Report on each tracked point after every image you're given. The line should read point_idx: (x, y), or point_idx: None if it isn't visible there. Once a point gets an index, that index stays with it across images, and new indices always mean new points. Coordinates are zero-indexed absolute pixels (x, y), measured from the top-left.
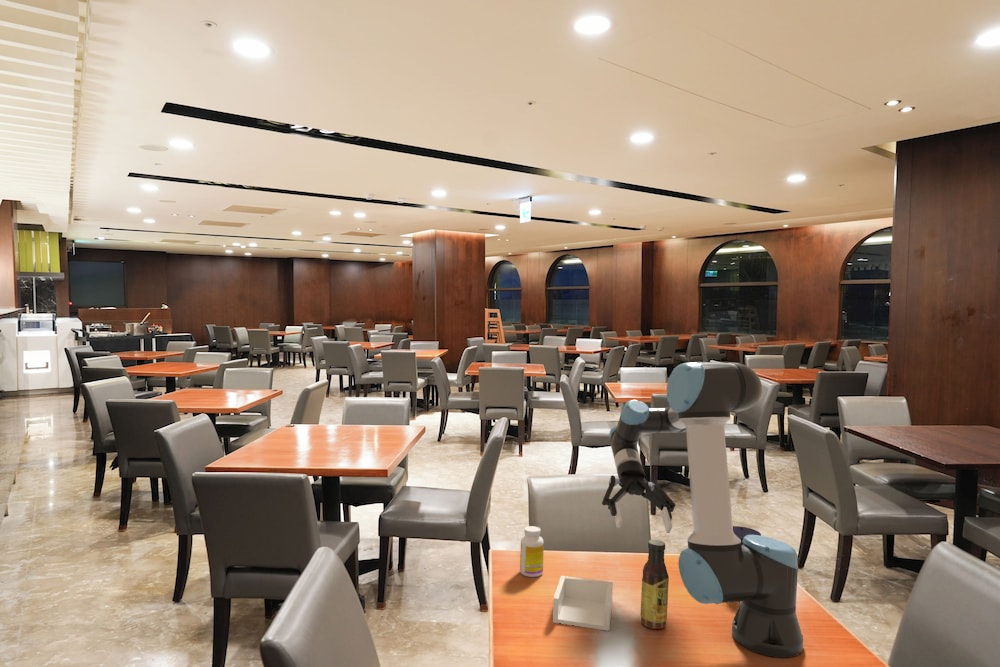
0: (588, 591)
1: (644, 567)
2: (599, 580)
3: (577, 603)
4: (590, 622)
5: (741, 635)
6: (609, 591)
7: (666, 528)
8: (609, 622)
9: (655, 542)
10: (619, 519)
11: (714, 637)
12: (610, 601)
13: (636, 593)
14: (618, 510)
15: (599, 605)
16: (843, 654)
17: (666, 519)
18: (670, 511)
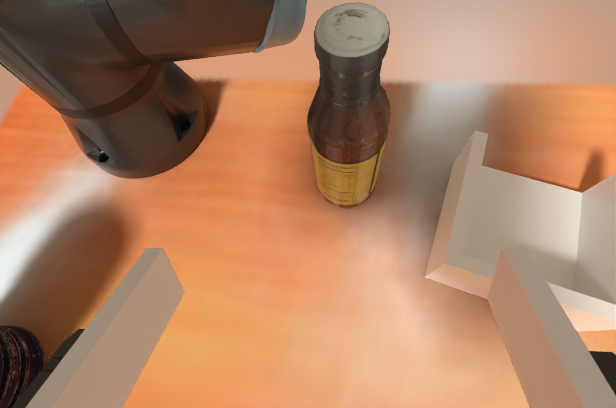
0: None
1: (387, 106)
2: (489, 278)
3: None
4: (499, 175)
5: (201, 98)
6: (465, 202)
7: (170, 298)
8: (456, 162)
9: (358, 25)
10: (531, 261)
11: (240, 135)
12: (468, 155)
13: (334, 346)
14: (570, 345)
15: (467, 254)
16: None
17: (133, 312)
18: (19, 398)
